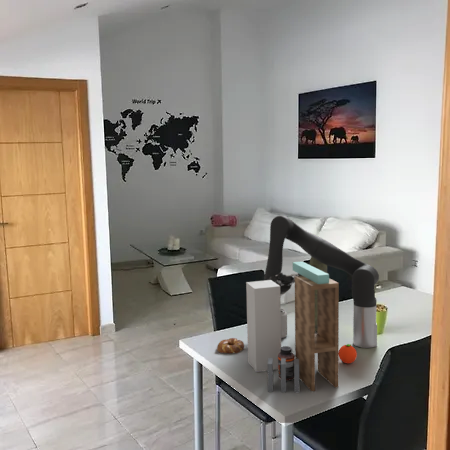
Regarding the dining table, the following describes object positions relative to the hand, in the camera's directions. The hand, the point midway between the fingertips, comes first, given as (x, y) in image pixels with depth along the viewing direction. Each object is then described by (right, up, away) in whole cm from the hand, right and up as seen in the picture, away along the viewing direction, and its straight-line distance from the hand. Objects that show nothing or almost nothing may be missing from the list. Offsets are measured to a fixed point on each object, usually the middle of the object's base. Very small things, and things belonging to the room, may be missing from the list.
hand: (292, 273), depth 195 cm
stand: (+6, -37, -15) cm, 40 cm away
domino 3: (-1, -38, -21) cm, 43 cm away
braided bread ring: (-24, -34, +16) cm, 44 cm away
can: (-2, -31, +30) cm, 43 cm away
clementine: (+21, -34, 0) cm, 40 cm away
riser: (-11, -35, -1) cm, 37 cm away
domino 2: (-6, -38, -21) cm, 43 cm away
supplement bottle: (-4, -37, -12) cm, 39 cm away
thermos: (+17, -29, +36) cm, 50 cm away
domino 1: (-10, -38, -20) cm, 44 cm away
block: (+4, +1, -16) cm, 16 cm away
